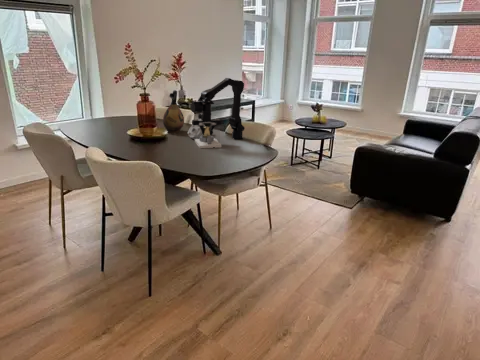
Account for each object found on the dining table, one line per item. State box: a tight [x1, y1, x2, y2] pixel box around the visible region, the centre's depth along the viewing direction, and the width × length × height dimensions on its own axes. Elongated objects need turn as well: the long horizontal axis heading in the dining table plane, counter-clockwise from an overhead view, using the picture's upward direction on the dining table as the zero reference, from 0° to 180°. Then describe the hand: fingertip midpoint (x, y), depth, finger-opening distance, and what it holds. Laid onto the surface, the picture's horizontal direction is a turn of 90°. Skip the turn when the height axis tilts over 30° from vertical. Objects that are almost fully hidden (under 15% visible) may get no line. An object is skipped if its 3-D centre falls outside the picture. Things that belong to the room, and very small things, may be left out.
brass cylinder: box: [202, 126, 211, 138], centre depth 226 cm, size 4×4×8 cm
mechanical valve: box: [187, 119, 214, 140], centre depth 243 cm, size 10×18×15 cm
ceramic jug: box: [162, 89, 185, 134], centre depth 252 cm, size 17×15×30 cm
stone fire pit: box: [194, 135, 222, 149], centre depth 224 cm, size 14×18×6 cm
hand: (206, 135), depth 227 cm, fingers closed on brass cylinder, 4 cm apart
